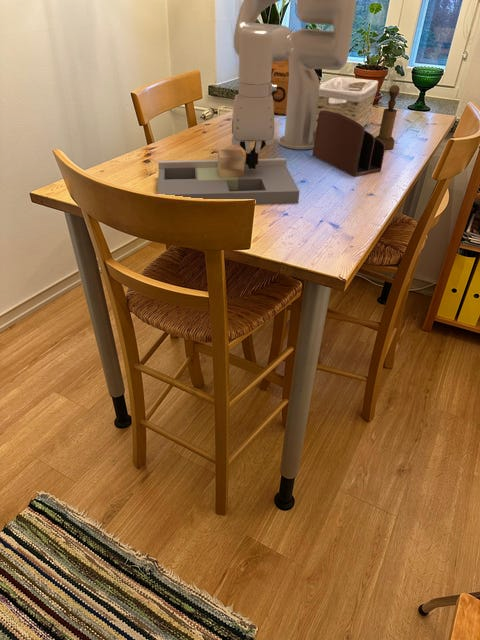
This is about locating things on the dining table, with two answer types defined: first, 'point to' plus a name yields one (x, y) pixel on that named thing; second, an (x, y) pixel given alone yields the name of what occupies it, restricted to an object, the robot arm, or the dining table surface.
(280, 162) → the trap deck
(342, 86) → the storage basket
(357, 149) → the letter holder
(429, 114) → the dining table surface
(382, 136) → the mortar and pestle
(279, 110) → the coffee package
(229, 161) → the beech block
